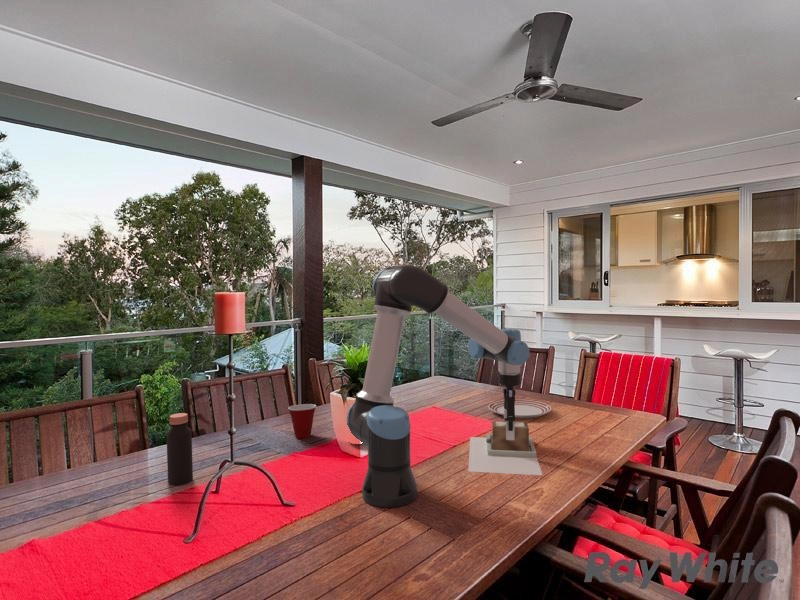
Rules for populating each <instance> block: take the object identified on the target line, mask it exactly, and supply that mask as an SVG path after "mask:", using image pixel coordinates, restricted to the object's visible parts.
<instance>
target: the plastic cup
mask: <svg viewBox="0 0 800 600" xmlns="http://www.w3.org/2000/svg"><path fill="white" fill-rule="evenodd" d="M316 407H317V405H316V404H313V403H303V404H301V403H300V404H295V405H290V406H289V407H288V408H287V409H288V411H289V415H290V418H291V423H292V428H293V431H294V436H295V438H296V439H299V440H300V439H301V440H304V439H309V438H310V437H311V435H312V428H313V424H314V423H313V422H314V417H315V416H314V415H315V410H316Z"/></svg>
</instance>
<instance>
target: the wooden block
mask: <svg viewBox="0 0 800 600" xmlns="http://www.w3.org/2000/svg"><path fill="white" fill-rule="evenodd" d="M491 426H492V428H491V429H492V432H491V434H492V443H493V450H509V451H529V436H530V428H529V425H528V422H526V421H525V422H524V421H515V435H514V440H506V422H504V421H500V420H498V421H497V420H495V421H491Z"/></svg>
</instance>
